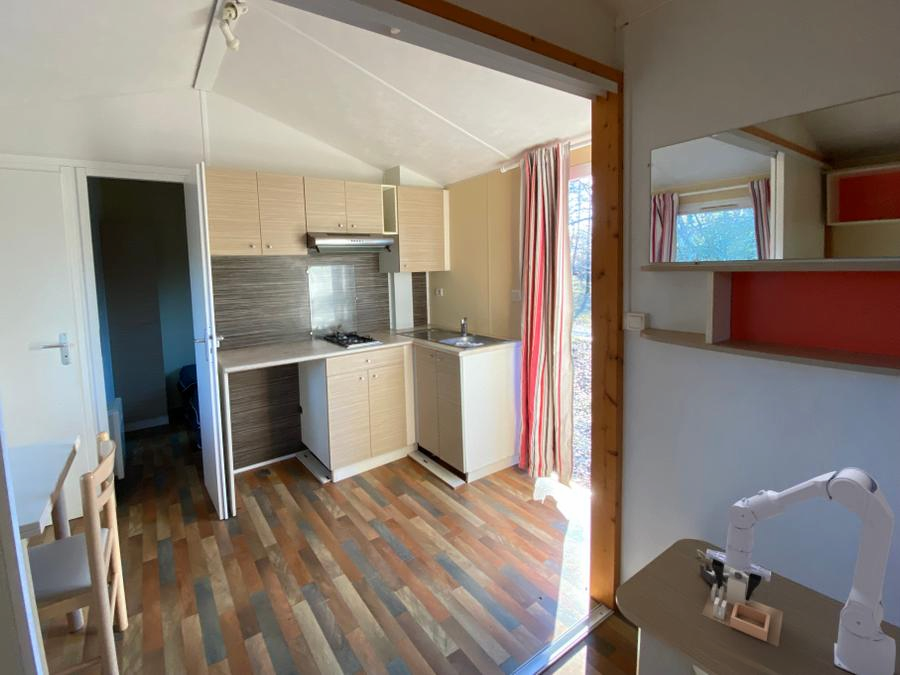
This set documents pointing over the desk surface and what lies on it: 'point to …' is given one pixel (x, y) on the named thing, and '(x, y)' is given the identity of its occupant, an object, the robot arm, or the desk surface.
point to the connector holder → (748, 626)
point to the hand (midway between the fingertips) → (734, 593)
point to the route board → (774, 617)
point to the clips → (718, 602)
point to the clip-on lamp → (710, 574)
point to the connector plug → (736, 588)
